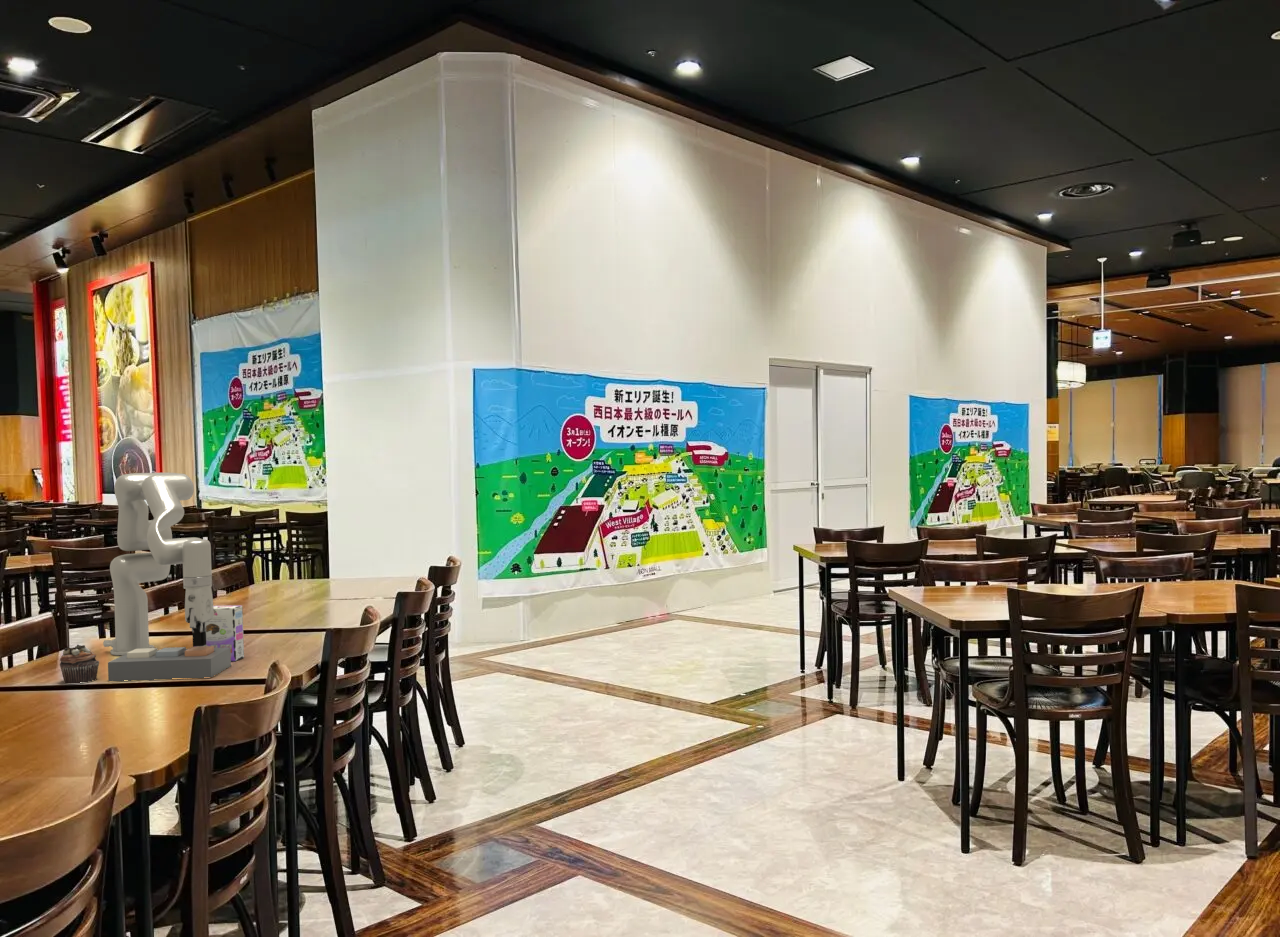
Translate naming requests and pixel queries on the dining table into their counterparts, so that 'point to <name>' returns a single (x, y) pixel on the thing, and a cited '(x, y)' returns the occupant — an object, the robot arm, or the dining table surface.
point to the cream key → (142, 653)
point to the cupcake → (78, 665)
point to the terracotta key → (199, 651)
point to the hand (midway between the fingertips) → (199, 645)
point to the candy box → (226, 630)
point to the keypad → (169, 666)
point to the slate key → (171, 652)
